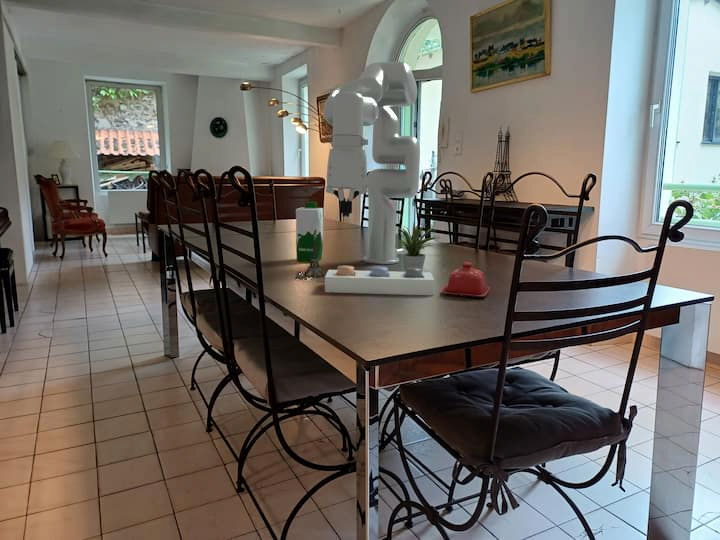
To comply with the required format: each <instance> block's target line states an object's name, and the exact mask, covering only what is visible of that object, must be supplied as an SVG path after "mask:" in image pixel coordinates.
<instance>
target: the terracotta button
mask: <svg viewBox="0 0 720 540" xmlns="http://www.w3.org/2000/svg"><path fill="white" fill-rule="evenodd" d="M336 268H337V269H336V270H337V275H338V276H354V270H355V267H354V266H352V265H338V266H337V267H336Z"/></svg>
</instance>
